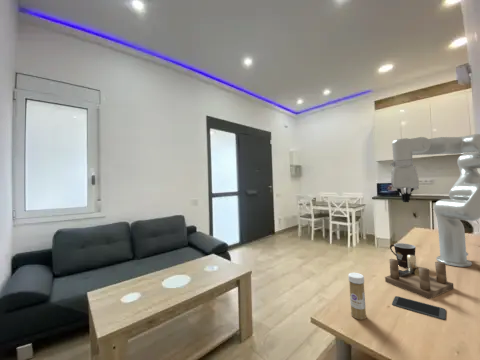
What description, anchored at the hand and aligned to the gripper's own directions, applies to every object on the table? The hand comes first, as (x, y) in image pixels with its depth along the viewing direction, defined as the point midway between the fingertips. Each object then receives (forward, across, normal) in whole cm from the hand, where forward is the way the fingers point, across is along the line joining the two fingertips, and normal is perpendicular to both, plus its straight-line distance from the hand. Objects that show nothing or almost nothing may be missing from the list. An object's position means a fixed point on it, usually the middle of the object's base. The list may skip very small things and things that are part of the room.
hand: (405, 201), depth 106 cm
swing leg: (+30, -5, -13) cm, 33 cm away
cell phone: (+33, -8, -37) cm, 50 cm away
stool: (+32, -3, -18) cm, 37 cm away
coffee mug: (+32, -1, +4) cm, 33 cm away
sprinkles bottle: (+32, -28, -47) cm, 64 cm away
